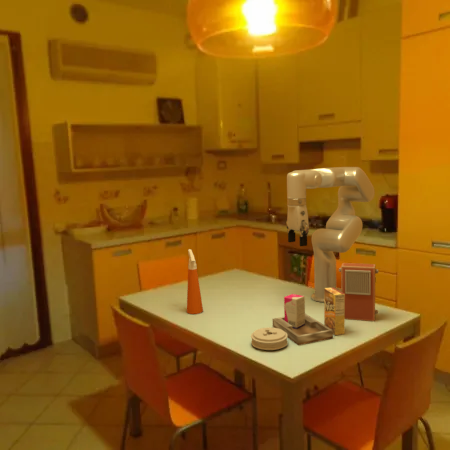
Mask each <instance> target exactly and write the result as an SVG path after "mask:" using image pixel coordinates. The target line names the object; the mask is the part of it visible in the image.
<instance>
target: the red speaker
mask: <svg viewBox="0 0 450 450" xmlns="http://www.w3.org/2000/svg"><path fill="white" fill-rule="evenodd" d="M338 272H340V274H341V277H340V278H341V280H340V283H341V286H340V287H341V288H340V289H341V292H342V293H344V294H345V320H353V321H366V322H367V321H368V322H375V319H376V315H378V314H379V310H378V309H376V274H379V272H380V271H379V269H377V268H376V263H375V264H374V263H351V262H350V263H348V262H346V263H345V262H343V263H341V266H340V267H339V268H338Z"/></svg>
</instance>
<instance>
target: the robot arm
mask: <svg viewBox="0 0 450 450" xmlns="http://www.w3.org/2000/svg"><path fill="white" fill-rule="evenodd" d="M335 187H338V191H337V197H338V198H337V199H338V203H337V204H338V205H337V208H336V210H335V211H334V212H333V213H332V214H331V216H330V217H329V218H328V220H327V221H326V223H325V224H326V225H325V228H317V229H315V231H313V233H312V235H311V244H312V245H311V246H312V249H313V261H314V263H313V264H314V266H313V269H314V273H313V274H314V293H312V294H311V296H310V299H312V301H315V302H319V303H324V289H325V288H333V287H334V288H335V289H337V290H339V291H340V292H341V288H340V287H337V260H336V259H337V258H336V256H335V253H346V252H348V251H350V250H351V248H352V246H353V245H354V244H355V242H356V241H357V240H358V238H359V237H360V235H361V233H362V231H363V221H362V218H360V217H359V216H357V215H356V210H355V206H353V203H352V202H355V203H369V202H371V201H372V200H374V198H375V186H374V185H373V184H372V182H371V180H370V178H369V177H368V175H367V174H366V172H365V171H364V170H363V169H362V168H361V167H359V166H341V167H340V166H338V167H337V166H336V167H321V168H313V169H312V168H311V169H299V170H297V169H296V170H293V171H291V172H288V173H287V174H286V195H287V196H286V198H287V200H286V201H287V203H286V204H287V205H286V206H287V216H286V217H287V220H286V221H285V224H286V229H287V242H288V243H296V232H298V233H299V235H300V236H299V247H307V246H308V236H309V230H310V225H309V213H308V208H307V189H313V190H314V189H317V188H324V189H325V188H335ZM295 231H296V232H295Z"/></svg>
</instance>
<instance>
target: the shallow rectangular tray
mask: <svg viewBox="0 0 450 450" xmlns="http://www.w3.org/2000/svg"><path fill="white" fill-rule="evenodd" d="M272 328H278V329H281V330H283V331H284V332H286V333H287V336H288V337H287V339H289V340H290V341H292V342H294V344H296V345H297V346H301V345H306V344H307V345H308V344H311V343H317V342H321V341H326V340H331V339H334V334H333V330H332V329H330V328H328V327H327V326H325V325H324V323H322V322H320V321H318V320H317V319H315V318H313V317H312V316H310V315H308V314H307V313H305V325H304V326H302V327H300V328H298V329H294V328H292V325H290V324H289V323H287V322H286V321H285V316H282V317H274V318H272Z"/></svg>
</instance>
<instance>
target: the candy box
mask: <svg viewBox="0 0 450 450" xmlns="http://www.w3.org/2000/svg"><path fill="white" fill-rule="evenodd" d="M323 303H324V305H323V307H324V309H323V312H324V314H323V315H324V318H323V319H324V323H323V325H325V326H327V327H328V328H330V329H332V330H333V336H340V335H345V325H346V324H345V322H346V319H345V294H344V293H342V292H340V291H339V290H337V289H335V288H334V287H333V288H325V289H324V302H323Z"/></svg>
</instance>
